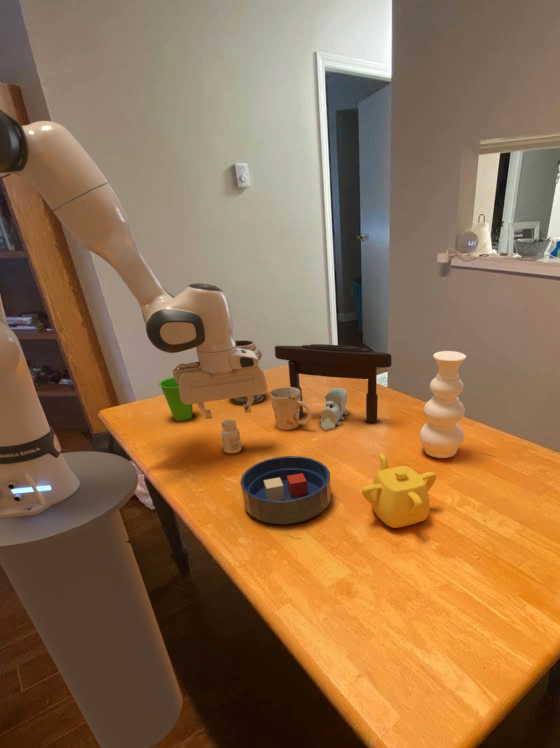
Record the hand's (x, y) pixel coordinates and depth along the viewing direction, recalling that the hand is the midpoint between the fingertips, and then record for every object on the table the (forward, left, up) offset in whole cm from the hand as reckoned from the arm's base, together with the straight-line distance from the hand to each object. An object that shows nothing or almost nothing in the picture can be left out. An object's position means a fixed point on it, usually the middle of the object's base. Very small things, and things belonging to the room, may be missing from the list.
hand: (228, 414), depth 113 cm
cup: (-11, +26, -10) cm, 30 cm away
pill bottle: (0, 0, -10) cm, 10 cm away
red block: (+10, -27, -9) cm, 30 cm away
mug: (+18, +8, -10) cm, 22 cm away
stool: (+30, +9, -10) cm, 32 cm away
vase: (+49, -20, -10) cm, 54 cm away
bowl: (+8, -28, -10) cm, 31 cm away
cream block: (+5, -27, -9) cm, 29 cm away
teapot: (+28, -40, -10) cm, 50 cm away
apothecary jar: (+9, +34, -10) cm, 36 cm away
